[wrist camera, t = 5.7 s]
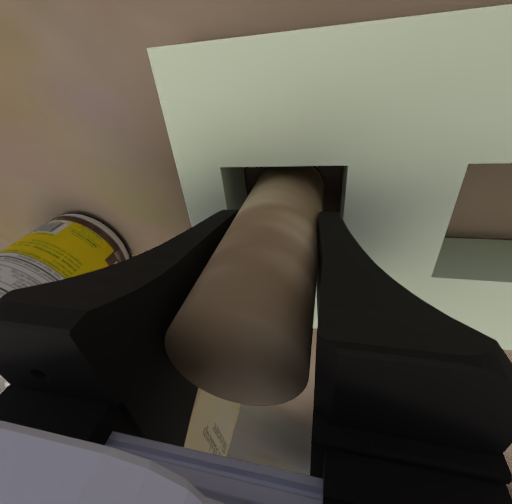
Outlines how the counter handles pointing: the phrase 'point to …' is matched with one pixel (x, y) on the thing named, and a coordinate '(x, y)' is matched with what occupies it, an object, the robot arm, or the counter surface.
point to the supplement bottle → (58, 254)
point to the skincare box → (211, 424)
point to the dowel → (256, 296)
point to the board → (361, 137)
